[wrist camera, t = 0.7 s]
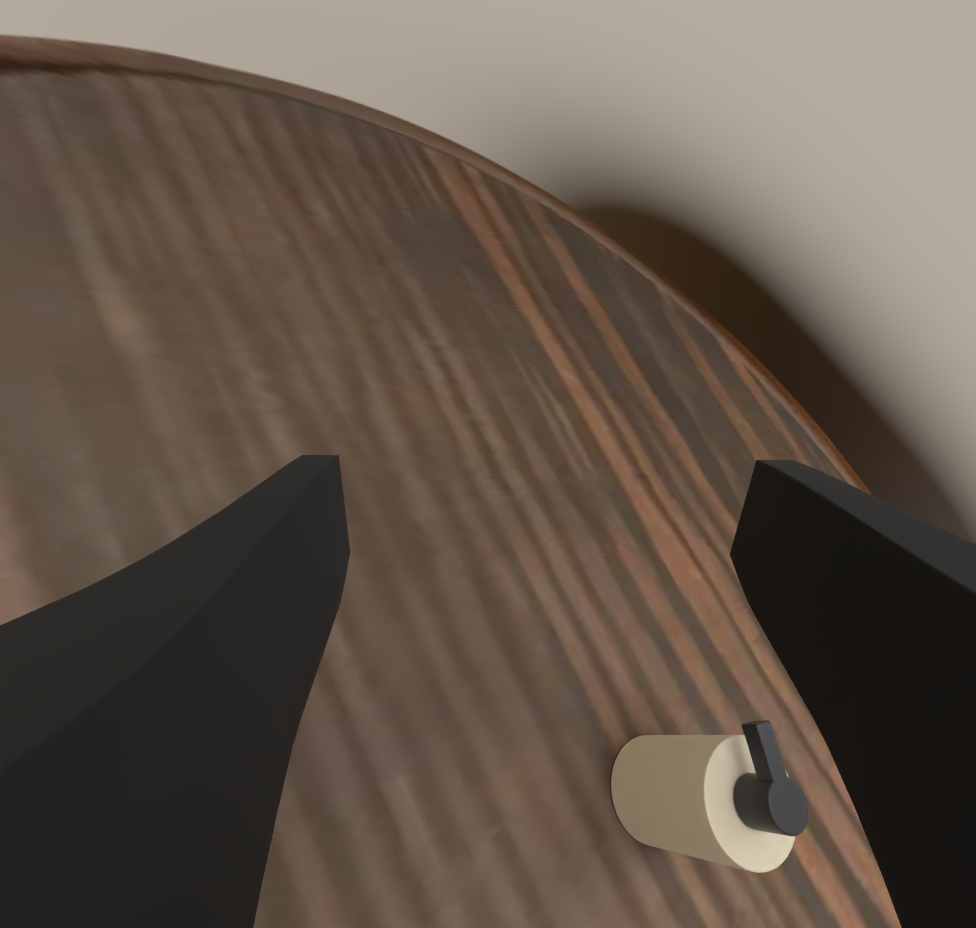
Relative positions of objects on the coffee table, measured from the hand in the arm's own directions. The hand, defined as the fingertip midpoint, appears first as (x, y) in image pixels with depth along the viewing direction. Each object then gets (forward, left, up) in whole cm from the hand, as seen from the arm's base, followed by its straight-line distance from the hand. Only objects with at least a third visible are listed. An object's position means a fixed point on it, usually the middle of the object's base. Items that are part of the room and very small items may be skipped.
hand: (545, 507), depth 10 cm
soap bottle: (-9, -14, -19) cm, 25 cm away
